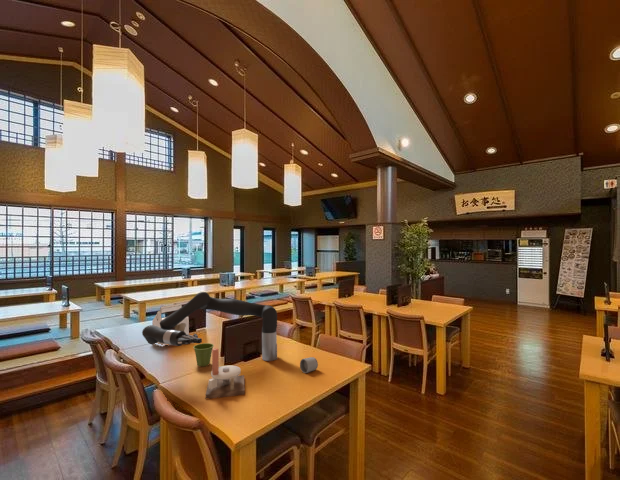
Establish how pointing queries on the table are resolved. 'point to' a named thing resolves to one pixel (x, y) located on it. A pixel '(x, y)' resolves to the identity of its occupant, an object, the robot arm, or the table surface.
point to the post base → (226, 388)
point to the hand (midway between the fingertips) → (200, 341)
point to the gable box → (156, 321)
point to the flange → (221, 370)
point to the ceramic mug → (308, 364)
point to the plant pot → (203, 353)
